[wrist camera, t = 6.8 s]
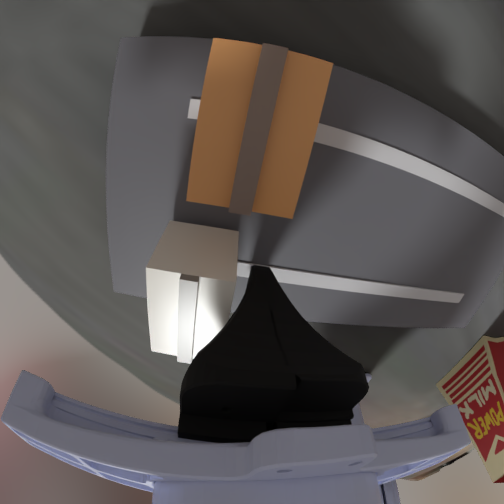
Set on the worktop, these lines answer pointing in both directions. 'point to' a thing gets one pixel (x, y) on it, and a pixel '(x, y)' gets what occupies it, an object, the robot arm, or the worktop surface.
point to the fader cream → (190, 287)
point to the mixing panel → (316, 196)
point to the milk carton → (481, 400)
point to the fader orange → (256, 127)
